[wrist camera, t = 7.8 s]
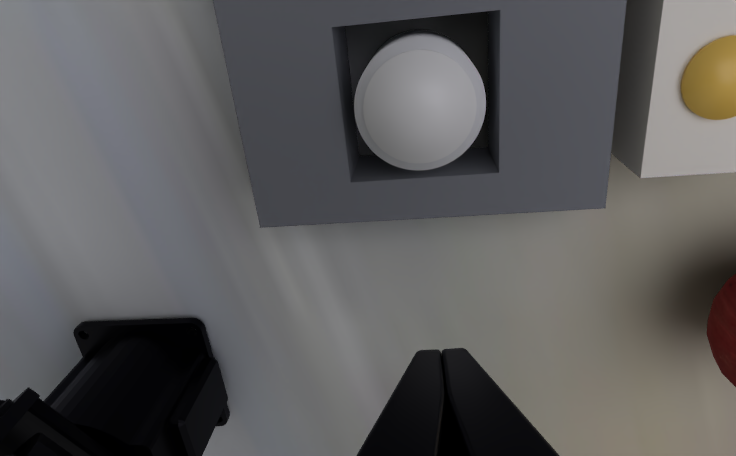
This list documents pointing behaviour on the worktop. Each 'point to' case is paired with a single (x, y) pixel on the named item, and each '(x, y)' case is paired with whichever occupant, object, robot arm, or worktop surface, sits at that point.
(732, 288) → the onion
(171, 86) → the worktop surface
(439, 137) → the button
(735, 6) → the tile
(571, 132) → the board
